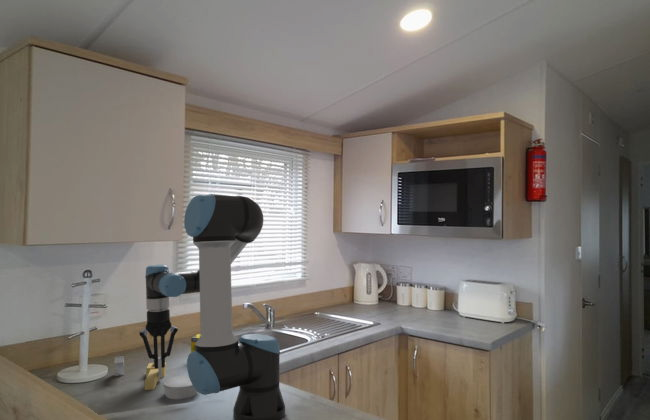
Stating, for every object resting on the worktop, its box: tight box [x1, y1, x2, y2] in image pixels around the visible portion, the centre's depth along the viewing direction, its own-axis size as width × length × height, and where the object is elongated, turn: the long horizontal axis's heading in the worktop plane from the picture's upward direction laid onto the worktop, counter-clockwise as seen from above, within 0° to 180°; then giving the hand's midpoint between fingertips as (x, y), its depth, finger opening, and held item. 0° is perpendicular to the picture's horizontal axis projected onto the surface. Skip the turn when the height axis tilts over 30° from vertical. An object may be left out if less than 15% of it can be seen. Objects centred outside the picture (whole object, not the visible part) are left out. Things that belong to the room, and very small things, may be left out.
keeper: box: [113, 355, 125, 377], centre depth 163 cm, size 8×3×7 cm, turn 22°
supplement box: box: [190, 333, 201, 353], centre depth 183 cm, size 6×6×11 cm
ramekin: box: [163, 374, 198, 400], centre depth 148 cm, size 11×11×5 cm
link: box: [144, 361, 167, 391], centre depth 160 cm, size 18×6×3 cm, turn 12°
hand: (160, 377), depth 160 cm, fingers closed
